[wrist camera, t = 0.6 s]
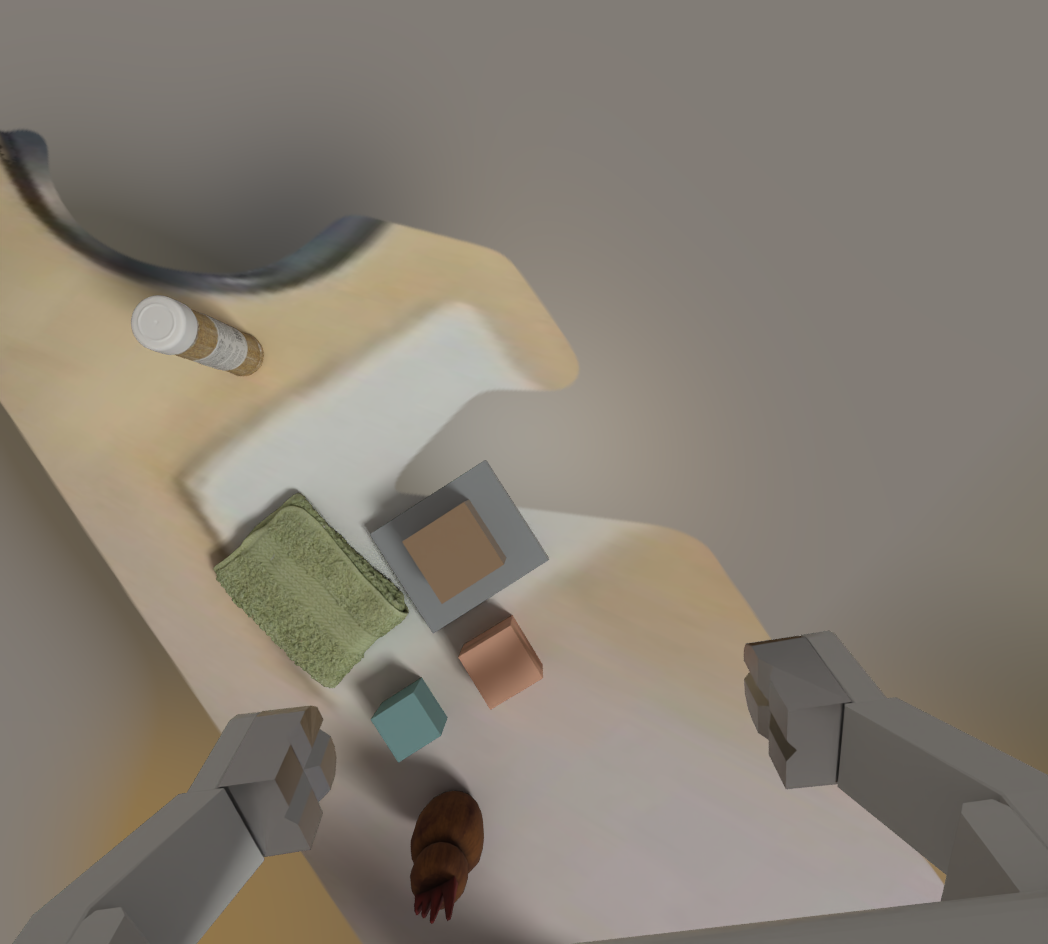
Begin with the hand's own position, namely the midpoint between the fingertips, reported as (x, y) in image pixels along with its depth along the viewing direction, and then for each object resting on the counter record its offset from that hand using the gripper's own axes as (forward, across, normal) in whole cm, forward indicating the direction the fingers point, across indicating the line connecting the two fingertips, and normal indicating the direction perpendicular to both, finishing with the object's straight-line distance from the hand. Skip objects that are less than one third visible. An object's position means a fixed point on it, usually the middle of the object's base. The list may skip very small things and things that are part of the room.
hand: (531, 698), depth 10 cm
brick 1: (+35, -17, -36) cm, 53 cm away
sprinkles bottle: (+51, -29, +1) cm, 58 cm away
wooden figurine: (+31, -15, -46) cm, 57 cm away
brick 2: (+38, -7, -32) cm, 50 cm away
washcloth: (+41, -26, -23) cm, 54 cm away
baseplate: (+42, -10, -20) cm, 48 cm away
